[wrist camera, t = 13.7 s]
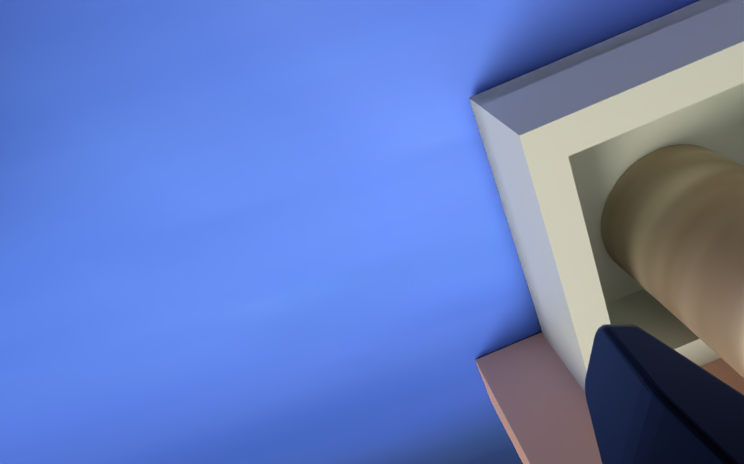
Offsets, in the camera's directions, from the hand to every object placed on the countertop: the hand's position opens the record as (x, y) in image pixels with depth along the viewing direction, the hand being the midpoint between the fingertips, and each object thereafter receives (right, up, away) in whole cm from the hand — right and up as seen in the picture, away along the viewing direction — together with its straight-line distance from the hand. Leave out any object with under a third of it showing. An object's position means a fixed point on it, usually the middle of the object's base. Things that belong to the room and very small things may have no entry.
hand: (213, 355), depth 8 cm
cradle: (+10, +3, +13) cm, 17 cm away
